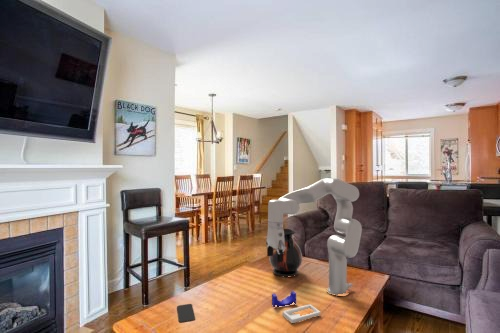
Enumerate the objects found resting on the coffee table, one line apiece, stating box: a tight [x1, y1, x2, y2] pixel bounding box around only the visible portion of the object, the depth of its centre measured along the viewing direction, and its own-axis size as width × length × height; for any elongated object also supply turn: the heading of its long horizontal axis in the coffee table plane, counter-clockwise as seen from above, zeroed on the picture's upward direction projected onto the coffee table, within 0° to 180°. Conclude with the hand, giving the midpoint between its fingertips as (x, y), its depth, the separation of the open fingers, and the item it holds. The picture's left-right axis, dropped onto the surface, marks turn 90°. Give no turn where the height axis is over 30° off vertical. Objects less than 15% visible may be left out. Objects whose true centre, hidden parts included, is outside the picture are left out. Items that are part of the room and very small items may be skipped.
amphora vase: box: [268, 228, 303, 278], centre depth 183 cm, size 22×22×28 cm
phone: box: [176, 303, 196, 324], centre depth 133 cm, size 7×1×15 cm
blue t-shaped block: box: [271, 290, 297, 308], centre depth 142 cm, size 12×4×6 cm, turn 106°
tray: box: [281, 303, 322, 324], centre depth 131 cm, size 16×8×2 cm, turn 115°
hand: (274, 258), depth 139 cm, fingers open, 9 cm apart
